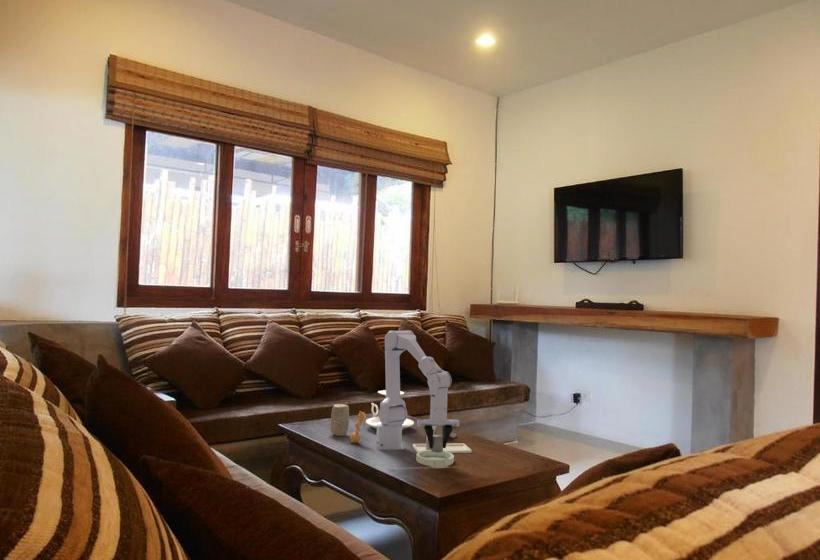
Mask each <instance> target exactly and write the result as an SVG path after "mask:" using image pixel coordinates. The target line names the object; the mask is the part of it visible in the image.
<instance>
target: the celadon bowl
mask: <svg viewBox="0 0 820 560" xmlns="http://www.w3.org/2000/svg"><path fill="white" fill-rule="evenodd" d="M415 456H416V457H415V459H416V462H417V463H418V464H421V465H423V466H424V467H425V468H431V469H446V468H450V467H452V466H451V465H453V463H454V462H455V455H454V453H449V452H446V451H443V452H440V453H436V452H432V451H431V450H424V451H419V452H418V453H417V452H416V454H415Z"/></svg>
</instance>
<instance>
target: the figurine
mask: <svg viewBox="0 0 820 560" xmlns="http://www.w3.org/2000/svg"><path fill="white" fill-rule="evenodd" d="M357 418H358V419H357ZM367 419H368V418H367V417H366V412H363V411H361V410H360V411H359V413H358V414H357V416H355V418H354V419H353V423H354V422H355V421H356V420H357V422H356V423H355V424H354V427H355V428H356V430H355V431H354V432H352V433H351V434H350V437H349V439H350V442H351V443H353V444H357V443H359V442H360V441H361V435H360V431H361V426H362V425H363V426H362V427H365V426H366V424H367V423H366V420H367ZM363 420H364V423H363Z"/></svg>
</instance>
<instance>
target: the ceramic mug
mask: <svg viewBox="0 0 820 560" xmlns="http://www.w3.org/2000/svg"><path fill="white" fill-rule="evenodd" d="M432 427H433V430H434V431H433V435H442V436H443V432H442V426H432ZM449 437H450V438H453V439H454V438H456V437H457V434H456V433H455V432H453V431H452V432H451V434H450V435H449Z"/></svg>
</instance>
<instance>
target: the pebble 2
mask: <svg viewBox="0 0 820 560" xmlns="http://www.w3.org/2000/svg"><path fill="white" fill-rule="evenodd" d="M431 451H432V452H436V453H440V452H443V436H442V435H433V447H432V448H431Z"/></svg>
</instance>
